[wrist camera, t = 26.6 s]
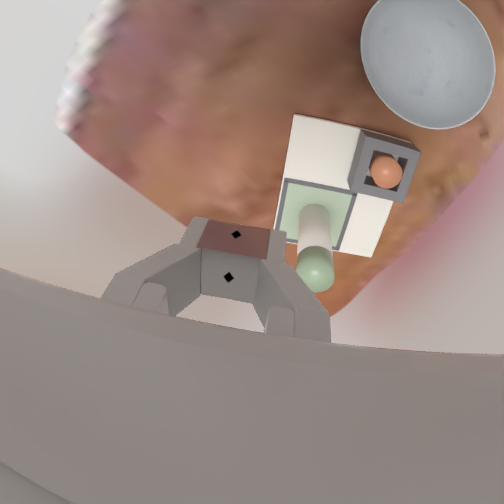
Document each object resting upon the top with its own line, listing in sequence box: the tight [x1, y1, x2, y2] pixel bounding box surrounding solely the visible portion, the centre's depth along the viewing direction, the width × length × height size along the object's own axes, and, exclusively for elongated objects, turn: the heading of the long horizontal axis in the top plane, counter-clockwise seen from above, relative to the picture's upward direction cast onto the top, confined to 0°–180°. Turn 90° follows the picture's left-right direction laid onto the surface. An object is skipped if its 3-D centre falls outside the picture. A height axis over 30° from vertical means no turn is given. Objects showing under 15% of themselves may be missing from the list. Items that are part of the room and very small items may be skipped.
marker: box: [296, 204, 334, 292], centre depth 37 cm, size 4×4×12 cm
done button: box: [368, 150, 402, 189], centre depth 34 cm, size 4×4×4 cm
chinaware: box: [360, 0, 495, 129], centre depth 24 cm, size 15×15×8 cm
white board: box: [273, 113, 421, 257], centre depth 38 cm, size 18×15×4 cm
